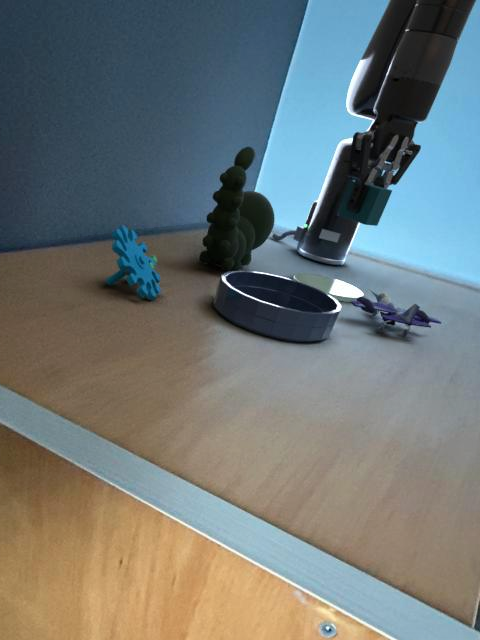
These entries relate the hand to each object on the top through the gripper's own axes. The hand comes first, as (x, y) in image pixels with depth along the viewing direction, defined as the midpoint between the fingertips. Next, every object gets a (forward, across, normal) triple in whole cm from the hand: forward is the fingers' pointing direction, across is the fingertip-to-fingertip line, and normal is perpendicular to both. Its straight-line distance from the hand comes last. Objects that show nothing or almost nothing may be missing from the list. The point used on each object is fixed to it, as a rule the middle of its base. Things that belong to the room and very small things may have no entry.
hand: (359, 211), depth 90 cm
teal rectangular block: (+1, 0, 0) cm, 1 cm away
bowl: (+12, +25, +12) cm, 30 cm away
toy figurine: (+12, +13, -12) cm, 22 cm away
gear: (+13, +41, +1) cm, 43 cm away
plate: (+12, 0, 0) cm, 12 cm away
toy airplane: (+13, +5, +15) cm, 20 cm away
